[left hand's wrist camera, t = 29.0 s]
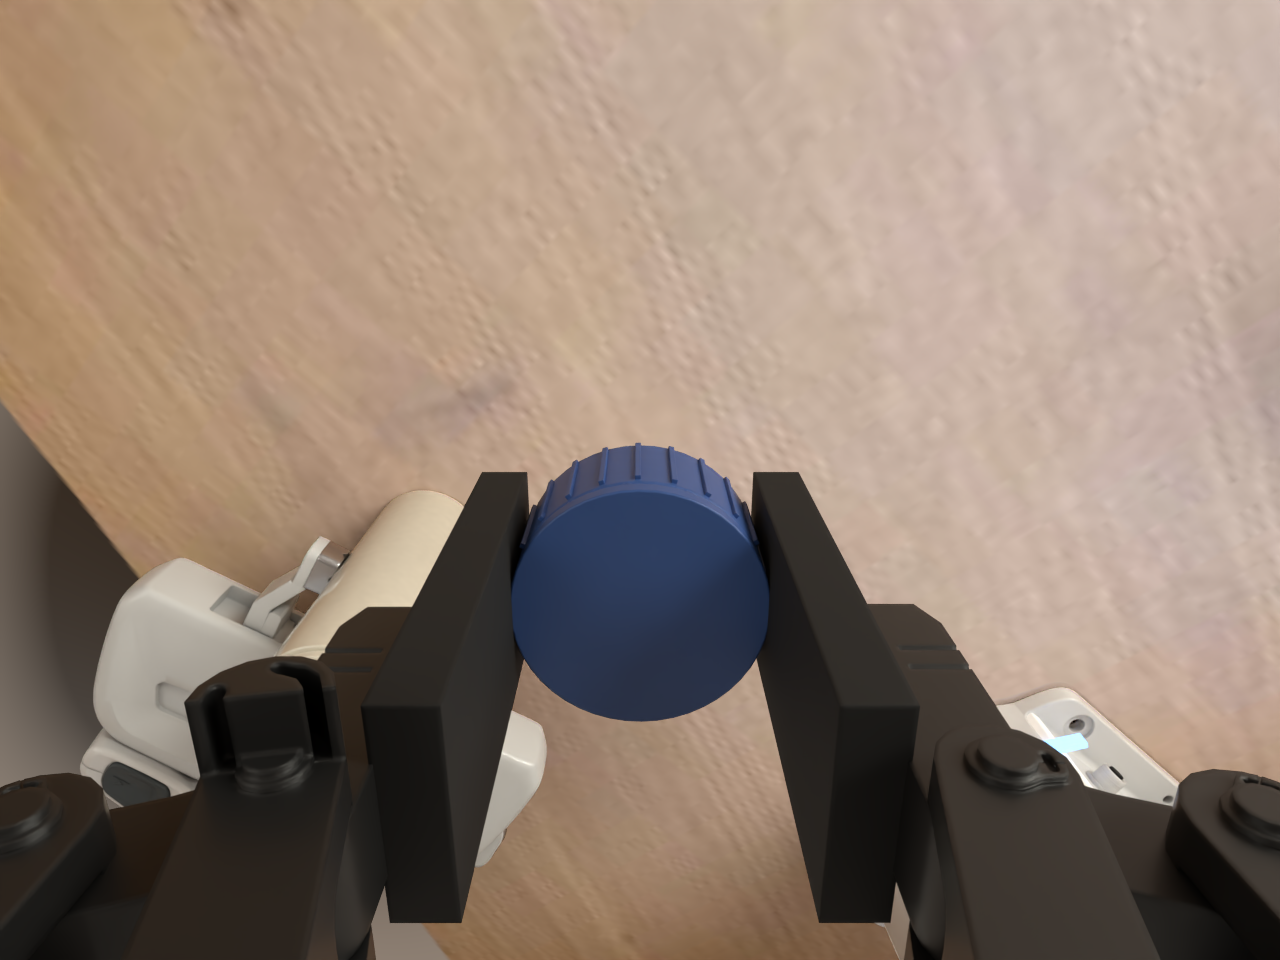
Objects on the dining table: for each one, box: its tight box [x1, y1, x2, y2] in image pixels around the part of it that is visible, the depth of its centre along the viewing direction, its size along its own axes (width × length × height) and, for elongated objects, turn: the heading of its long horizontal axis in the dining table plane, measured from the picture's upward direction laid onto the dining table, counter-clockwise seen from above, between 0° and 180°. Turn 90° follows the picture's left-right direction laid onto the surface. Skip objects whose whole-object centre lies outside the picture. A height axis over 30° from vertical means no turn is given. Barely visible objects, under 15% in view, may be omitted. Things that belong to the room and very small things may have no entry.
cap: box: [511, 443, 770, 722], centre depth 13 cm, size 4×4×2 cm
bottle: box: [273, 490, 464, 660], centre depth 34 cm, size 5×5×20 cm
